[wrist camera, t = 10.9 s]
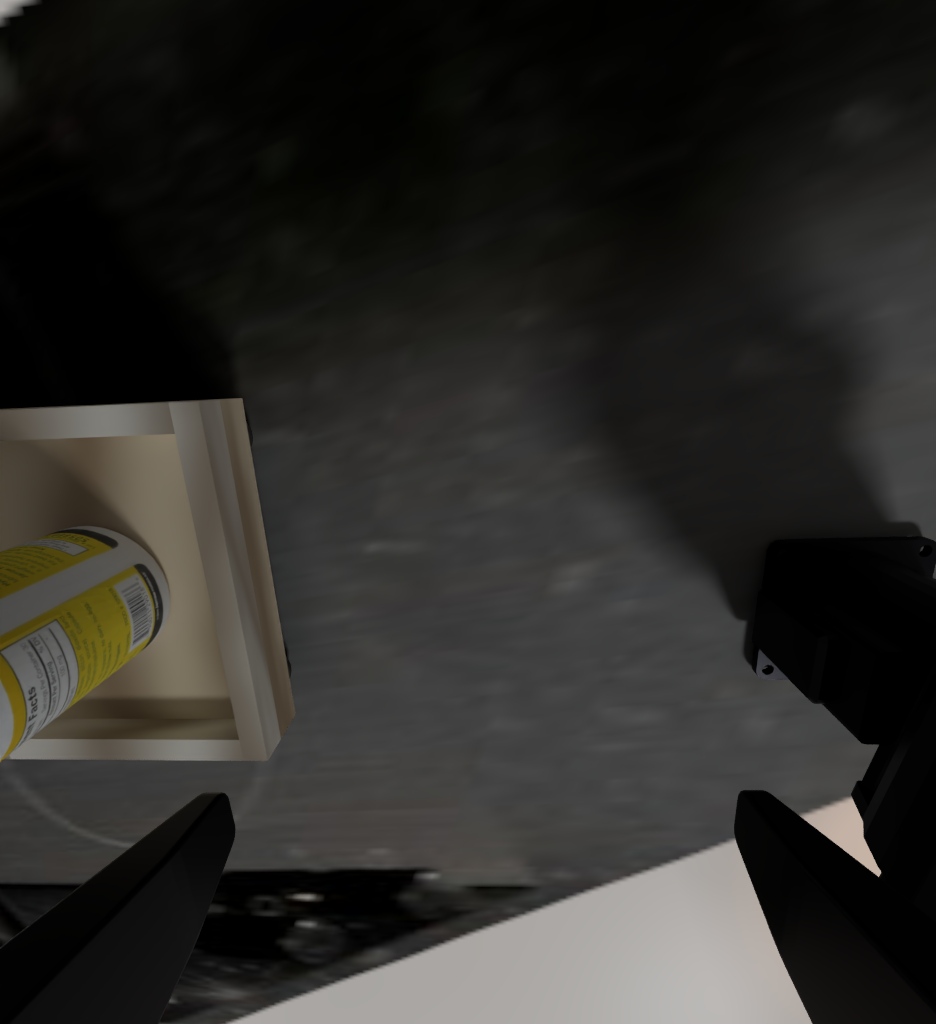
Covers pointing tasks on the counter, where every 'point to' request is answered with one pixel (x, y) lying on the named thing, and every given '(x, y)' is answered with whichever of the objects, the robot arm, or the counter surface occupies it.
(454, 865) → the counter surface
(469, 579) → the counter surface
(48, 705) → the supplement bottle
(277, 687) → the shallow square tray
